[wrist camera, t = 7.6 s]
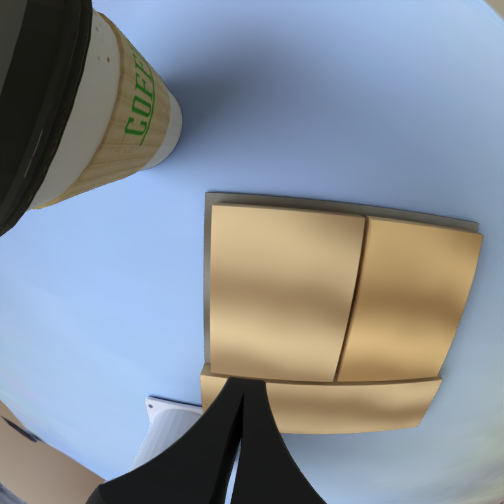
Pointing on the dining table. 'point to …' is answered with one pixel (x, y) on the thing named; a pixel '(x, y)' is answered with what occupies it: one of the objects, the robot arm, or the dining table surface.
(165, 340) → the dining table surface
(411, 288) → the oak plank
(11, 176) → the coffee cup
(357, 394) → the floor panel
